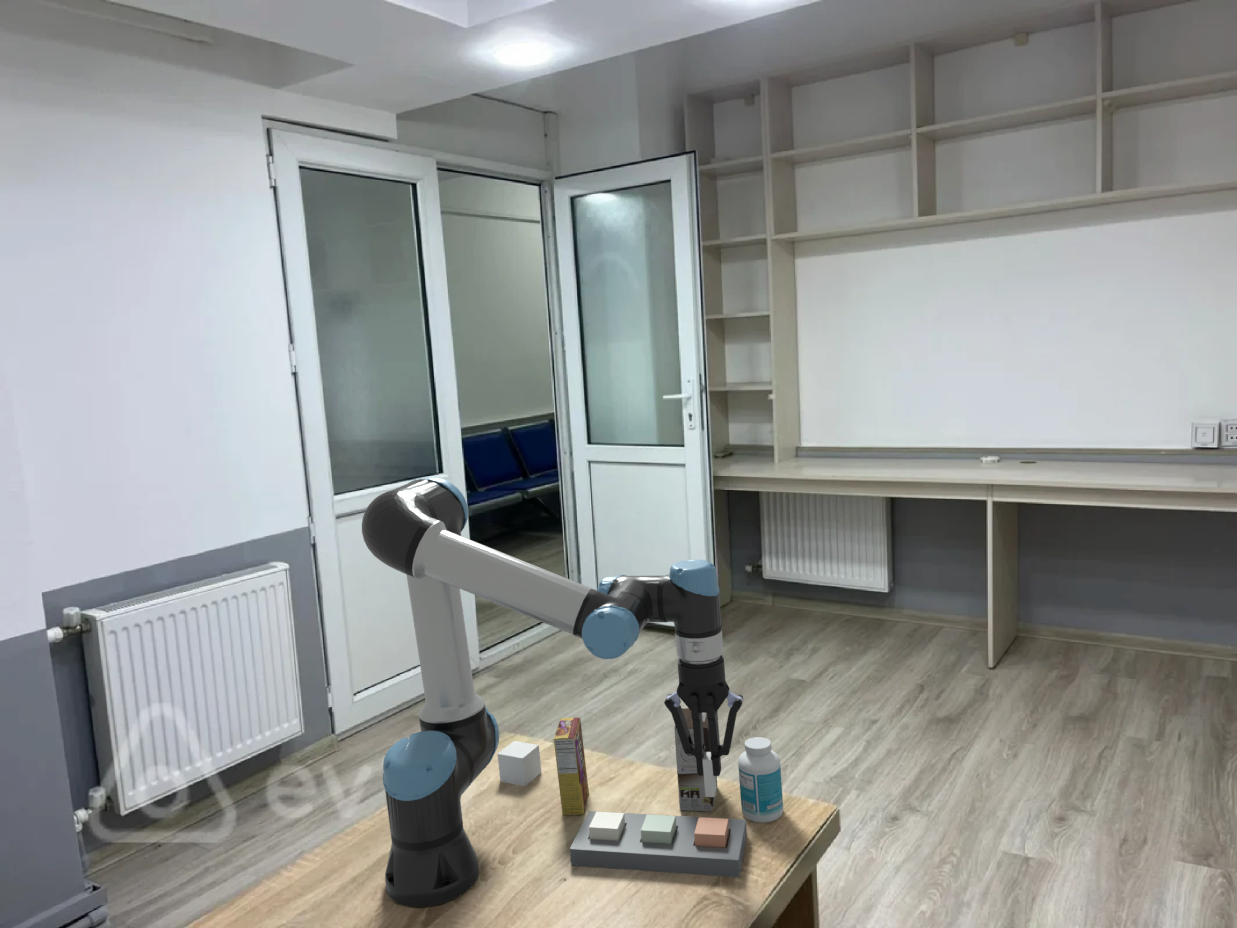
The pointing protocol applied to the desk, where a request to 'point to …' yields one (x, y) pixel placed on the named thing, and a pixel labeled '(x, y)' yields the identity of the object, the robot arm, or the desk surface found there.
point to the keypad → (661, 849)
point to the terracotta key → (712, 832)
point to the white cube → (519, 763)
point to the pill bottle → (760, 781)
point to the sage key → (658, 829)
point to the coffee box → (692, 771)
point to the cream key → (607, 826)
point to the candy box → (571, 766)
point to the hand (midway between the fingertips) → (711, 792)
